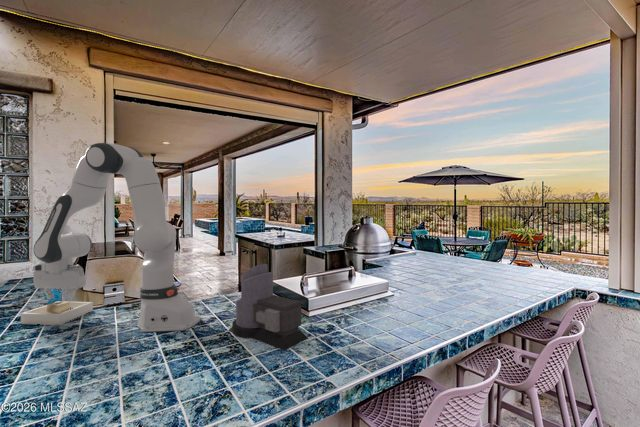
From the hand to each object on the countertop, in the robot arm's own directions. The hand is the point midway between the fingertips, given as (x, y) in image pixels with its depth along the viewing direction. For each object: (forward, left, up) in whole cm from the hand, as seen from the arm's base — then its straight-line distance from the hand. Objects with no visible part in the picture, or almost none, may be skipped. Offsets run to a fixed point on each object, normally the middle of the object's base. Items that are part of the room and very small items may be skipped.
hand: (60, 298), depth 131 cm
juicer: (-87, +8, -8) cm, 88 cm away
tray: (+1, +1, -7) cm, 7 cm away
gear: (+18, -16, -8) cm, 25 cm away
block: (+1, +1, -7) cm, 7 cm away
